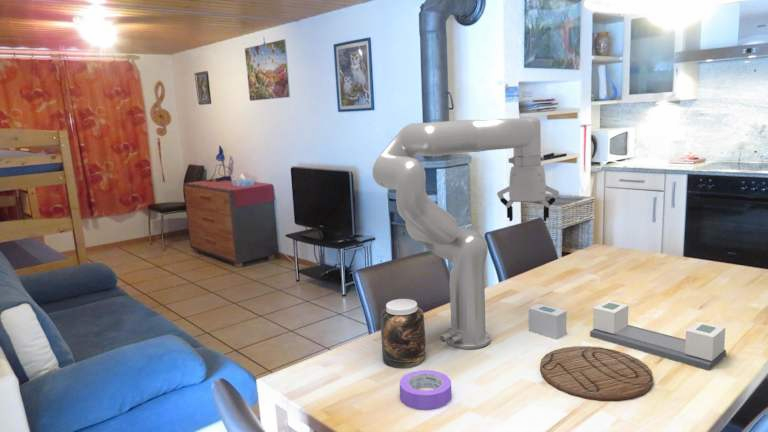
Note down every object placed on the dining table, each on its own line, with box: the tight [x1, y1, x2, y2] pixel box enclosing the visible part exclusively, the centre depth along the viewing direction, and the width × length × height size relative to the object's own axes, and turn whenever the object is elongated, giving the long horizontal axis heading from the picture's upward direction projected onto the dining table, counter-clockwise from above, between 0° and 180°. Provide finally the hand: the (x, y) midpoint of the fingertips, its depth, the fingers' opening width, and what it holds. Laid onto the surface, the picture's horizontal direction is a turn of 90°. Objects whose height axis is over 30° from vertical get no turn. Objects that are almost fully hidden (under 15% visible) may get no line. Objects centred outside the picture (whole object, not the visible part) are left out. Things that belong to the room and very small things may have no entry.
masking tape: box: [399, 369, 452, 411], centre depth 123 cm, size 12×12×4 cm
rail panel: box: [589, 324, 727, 371], centre depth 143 cm, size 11×30×2 cm, turn 41°
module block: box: [528, 303, 568, 340], centre depth 154 cm, size 5×9×7 cm, turn 41°
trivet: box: [539, 345, 654, 402], centre depth 129 cm, size 25×25×2 cm
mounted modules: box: [592, 300, 726, 361], centre depth 142 cm, size 8×30×6 cm, turn 41°
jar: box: [380, 298, 427, 369], centre depth 142 cm, size 12×12×15 cm
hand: (527, 220), depth 158 cm, fingers open, 9 cm apart
